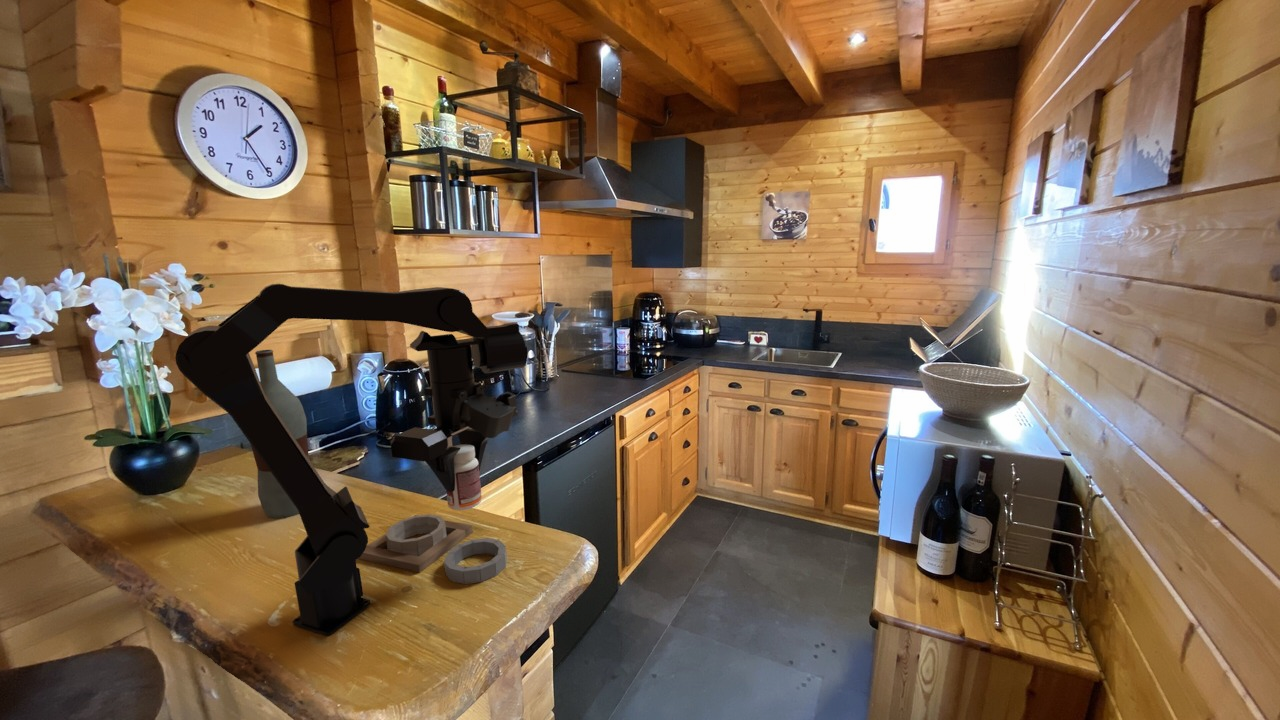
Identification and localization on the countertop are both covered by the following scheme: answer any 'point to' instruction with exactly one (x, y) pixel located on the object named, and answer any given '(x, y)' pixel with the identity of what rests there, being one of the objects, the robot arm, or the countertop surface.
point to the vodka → (295, 420)
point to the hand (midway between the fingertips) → (462, 483)
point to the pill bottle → (465, 480)
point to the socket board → (416, 542)
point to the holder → (480, 571)
